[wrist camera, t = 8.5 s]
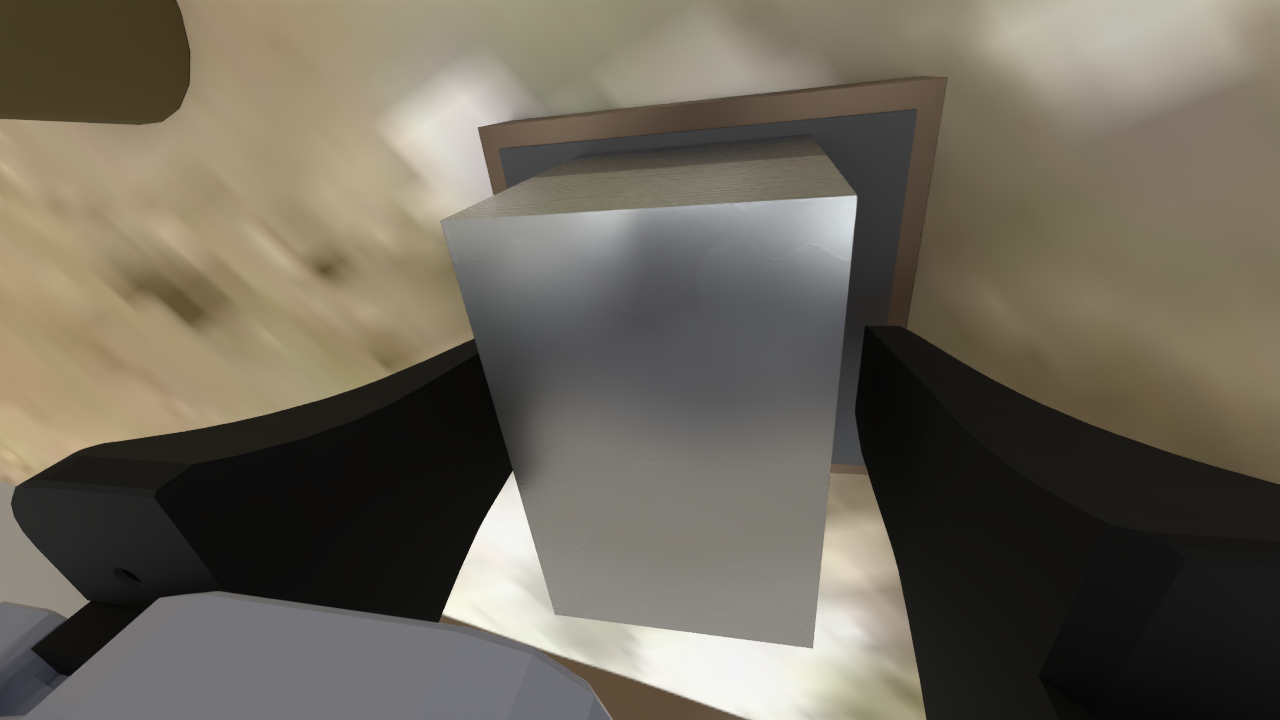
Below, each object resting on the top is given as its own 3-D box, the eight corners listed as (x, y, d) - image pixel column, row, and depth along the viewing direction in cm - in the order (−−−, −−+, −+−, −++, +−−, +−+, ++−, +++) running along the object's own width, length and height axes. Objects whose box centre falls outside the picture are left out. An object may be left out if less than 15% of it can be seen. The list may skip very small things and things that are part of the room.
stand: (921, 76, 11) (951, 77, 10) (870, 436, 16) (883, 480, 14) (509, 121, 13) (473, 128, 12) (572, 424, 18) (553, 461, 17)
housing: (810, 134, 10) (857, 195, 5) (794, 441, 14) (812, 647, 9) (581, 154, 12) (439, 221, 6) (622, 434, 15) (555, 614, 10)
